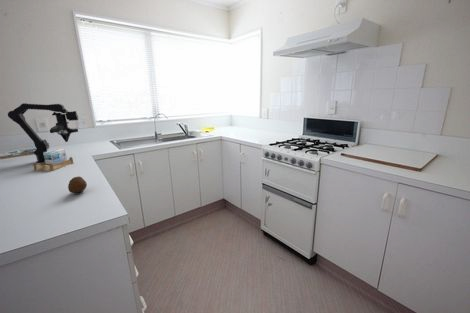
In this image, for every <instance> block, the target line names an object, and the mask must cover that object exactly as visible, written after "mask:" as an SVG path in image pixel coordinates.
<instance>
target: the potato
mask: <svg viewBox="0 0 470 313" xmlns="http://www.w3.org/2000/svg"><path fill="white" fill-rule="evenodd" d="M67 189H68V191H69V193H72V194H78V193H81V192H83V191H85V190H86V189H87V181H86V180H85V179H84V178H83V177H81V176H75V177H73V178H71V179H70V180H69V182H68V185H67Z"/></svg>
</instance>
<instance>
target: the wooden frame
mask: <svg viewBox="0 0 470 313" xmlns="http://www.w3.org/2000/svg"><path fill="white" fill-rule="evenodd" d="M73 164H74V159H73V157H72V156H71V157H69V158H68V159H67V160H66V161H63V162H60V163H57V164H54V165H53V164H49V165H46V162H43V163H37V162H35V163H32V165H33V169H34V171H35V172H36V171H40V172H43V171H46V172H47V171H48V172H53V171H56V170H59V169H61V168H64V167H67V165H68V166H70V165H73Z"/></svg>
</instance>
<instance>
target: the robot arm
mask: <svg viewBox="0 0 470 313" xmlns="http://www.w3.org/2000/svg"><path fill="white" fill-rule="evenodd" d="M28 110H37V111H39V110H40V111H51V112H53V113H52V114H51V115H52V116H55V118H56V119H55V120H56V122H55V125H54V126H52V127H50V129H49V132H50V133H49V134H55V133H56V134H57V135H59V136H61V137H62V139H63V140H64V142H65V143H68V141H69V138H70V136H71V134H72V133H78V132H79V129H78V128H77V127H72V128H70V127H69V126H68V124H69V121H70V122H72V121H79V115H78V113H77V111H76V110H74V111H73V110H72V111H69V110H67V109H66V107H65V106H64V104H61V103H53V104H40V103H38V104H37V103H21V104H20V105H19V106H18V107H16V108H14V109H13V110H10V111H8V113H7V116H8V118H9V119H10V120H11V121H13V122H14V123H16V124H17V125H19V127H20V128H21V129H22V130H23V131H24V133H26V135H27V136H28V137H29V139H31V141H32V142H33V144H34V147H35V148H36V149H35V150H34V151H33V153H34V155H35V157H36V163H38V164H40V163H44V162H45V159H44V155H43V153H44V152H48V151H49V149H50V143H49V142H47V141H48V140H46V139H42V138H40V136H39V135H38V134H37V133H36V132H35V130H34V129H33V128H32V126H31V125H30V124H29V123H28V122H27V120H26V117H25V115H24V114H25V113H26V112H27V111H28Z"/></svg>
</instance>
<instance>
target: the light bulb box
mask: <svg viewBox="0 0 470 313" xmlns="http://www.w3.org/2000/svg"><path fill="white" fill-rule="evenodd" d="M43 155H44V159H45V162H46V165H49V164H53V165H54V164H57V163H60V162H63V161H66V160H68V157H67V152H66V149H64V148H56V149H52V150H47V152H44V153H43Z"/></svg>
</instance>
